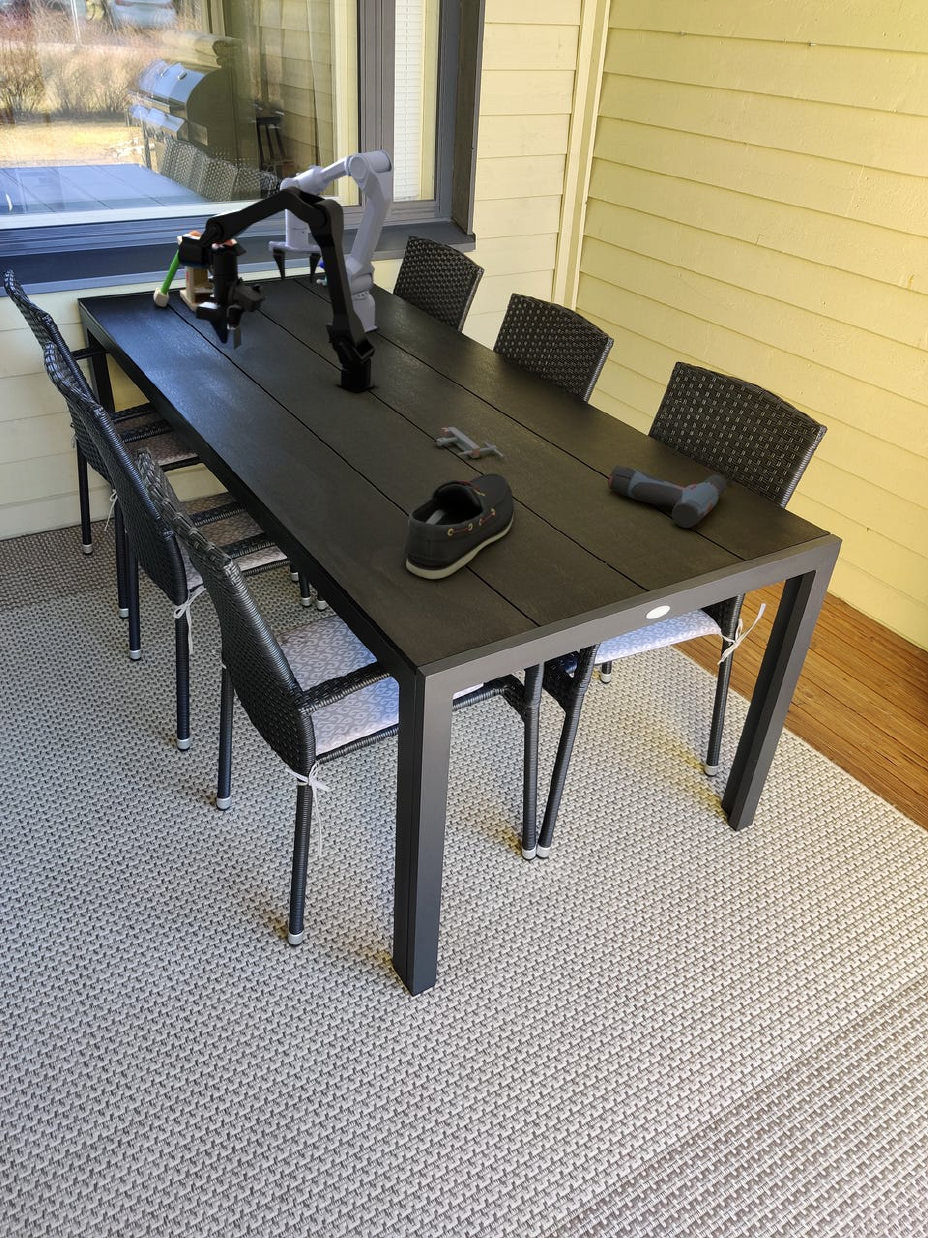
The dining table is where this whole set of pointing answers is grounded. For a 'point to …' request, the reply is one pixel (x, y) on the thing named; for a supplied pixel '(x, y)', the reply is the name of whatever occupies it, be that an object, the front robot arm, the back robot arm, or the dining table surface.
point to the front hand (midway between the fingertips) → (228, 340)
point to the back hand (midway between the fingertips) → (297, 280)
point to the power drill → (669, 493)
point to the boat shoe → (457, 524)
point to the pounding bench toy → (189, 282)
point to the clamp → (464, 443)
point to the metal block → (231, 337)
